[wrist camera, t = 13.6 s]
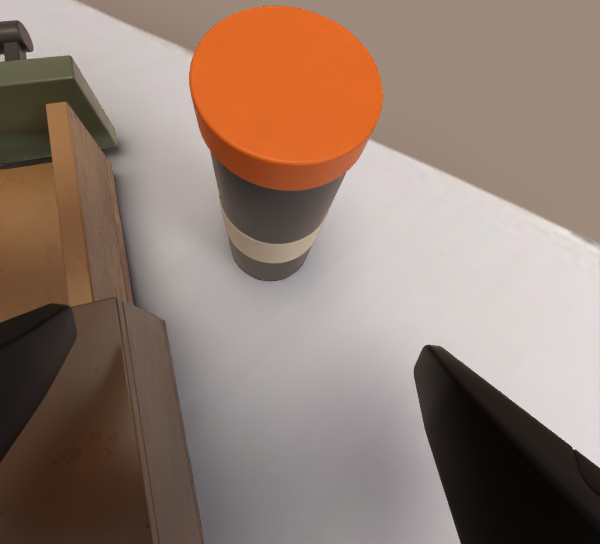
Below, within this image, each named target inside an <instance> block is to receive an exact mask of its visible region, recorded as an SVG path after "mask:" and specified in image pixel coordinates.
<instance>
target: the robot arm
mask: <svg viewBox="0 0 600 544" xmlns="http://www.w3.org/2000/svg"><path fill="white" fill-rule="evenodd" d="M76 338H77V328H76V323H75V318H74V313H73V309H72V308H71V306H69V305H66V304H57V303H50V304H47V305H45V306H42V307H40V308H37V309H34V310H32V311H29V312H27V313H24V314H21V315H19V316H16V317H14V318H11V319H8V320H6V321H3V322H1V323H0V463H1V461H2V460H3V458H4V457H5V455H6V454H7V453H8V451H9V450H10V448H11V447H12V445H13V444H14V442H15V441H16V439H17V438H18V436H19V435H20V433H21V432H22V431H23V429H24V428H25V426H26V425H27V423H28V422H29V420H30V419H31V417H32V416H33V414H34V413H35V411H36V410H37V408H38V407H39V405H40V404H41V402H42V401H43V399H44V398H45V396H46V394H47V393H48V391H49V389H50V388H51V386H52V384H53V382H54V380H55V378H56V376H57V374H58V373H59V371H60V369H61V367H62V365H63V363H64V361H65V360H66V358H67V356H68V354H69V352H70V350H71V348H72V347H73V345H74V343H75V341H76ZM414 378H415V383H416V388H417V393H418V398H419V403H420V408H421V413H422V418H423V422H424V427H425V431H426V434H427V438H428V441H429V444H430V447H431V450H432V453H433V457H434V460H435V463H436V466H437V469H438V472H439V476H440V479H441V482H442V485H443V488H444V492H445V495H446V498H447V501H448V504H449V507H450V511H451V514H452V517H453V520H454V523H455V526H456V530H457V533H458V536H459V539H460V542H461V544H600V468H599V467H598V466H596V465H595V464H594V463H592V462H591V461H590V460H589V459H587V458H586V457H585V456H583V455H582V454H581V453H579V452H578V451H577V450H573V448H572V447H571V446H570V445H569V444H568V443H566V442H565V441H564V440H562V439H561V438H560V437H558V436H557V435H556V434H555V433H553V432H552V431H551V430H549V429H548V428H547V427H545V426H544V425H543V424H542V423H540V422H539V421H538V420H536V419H535V418H534V417H532V416H531V415H530V414H528V413H527V412H526V411H525V410H523V409H522V408H521V407H519V406H518V405H517V404H515V403H514V402H513V401H512V400H510V399H509V398H508V397H506V396H505V395H504V394H502V393H501V392H500V391H498V390H497V389H496V388H495V387H493V386H492V385H491V384H489V383H488V382H487V381H485V380H484V379H483V378H482V377H480V376H479V375H478V374H476V373H475V372H474V371H472V370H471V369H470V368H468V367H467V366H466V365H465V364H463V363H462V362H461V361H459V360H458V359H457V358H455V357H454V356H453V355H452V354H450V353H449V352H448V351H446V350H445V349H444V348H442V347H440V346H434V345H425V346H424V347H423V349H422V351H421V353H420V355H419V358H418V360H417V362H416V365H415V367H414Z"/></svg>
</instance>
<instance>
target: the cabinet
mask: <svg viewBox="0 0 600 544" xmlns="http://www.w3.org/2000/svg"><path fill="white" fill-rule="evenodd" d="M71 308H72V309H73V313H74V318H75V323H76V328H77V338H76V341H75V343H74V345H73V347H72V348H71V350H70V352H69V354H68V356H67V358H66V360H65V361H64V363H63V365H62V367H61V369H60V371H59V373H58V374H57V376H56V378H55V380H54V382H53V384H52V386H51V388H50V389H49V391H48V393H47V394H46V396H45V398H44V399H43V401H42V402H41V404H40V405H39V407H38V408H37V410H36V411H35V413H34V414H33V416H32V417H31V419H30V420H29V422H28V423H27V425H26V426H25V428H24V429H23V431H22V432H21V433H20V435H19V436H18V438H17V439H16V441H15V442H14V444H13V445H12V447H11V448H10V450H9V451H8V453H7V454H6V455H5V457H4V458H3V460H2V461H1V463H0V544H205V543H204V538H203V532H202V527H201V521H200V515H199V510H198V504H197V499H196V493H195V488H194V482H193V476H192V471H191V465H190V460H189V454H188V449H187V443H186V437H185V432H184V426H183V421H182V415H181V410H180V404H179V398H178V393H177V387H176V382H175V376H174V371H173V365H172V359H171V354H170V348H169V343H168V337H167V332H166V326H165V321H164V320H162V319H160V318H158V317H156V316H154V315H152V314H150V313H148V312H146V311H144V310H142V309H140V308H138V307H136V306H134V305H132V304H130V303H127V302H125V301H123V300H121V299H119V298H117V297H112V298H108V299H103V300H99V301H94V302H90V303H86V304H81V305H77V306H72V307H71Z"/></svg>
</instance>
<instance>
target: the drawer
mask: <svg viewBox="0 0 600 544" xmlns="http://www.w3.org/2000/svg"><path fill="white" fill-rule="evenodd" d="M32 51H33V43H32V40H31V38H30V36H29V33H28V32H27V30H26V28H25V27H24V25H23V24H22V23H21V22H20V21H17V20H16V21H2V22H0V55H3V54H5V62H0V164H1V163H8V162H15V161H22V160H29V159H36V158H43V157H49V156H52V162H50V163H44V164H37V165H30V166H24V167H17V168H10V169H3V170H0V323H1V322H3V321H6V320H8V319H11V318H14V317H16V316H19V315H21V314H24V313H27V312H29V311H32V310H34V309H37V308H40V307H42V306H45V305H47V304H50V303H57V304H66V305H69V306H71V307H72V306H77V305H81V304H86V303H90V302H94V301H99V300H103V299H108V298H112V297H117V298H119V299H121V300H123V301H125V302H127V303H130V304H132V305H134V302H133V296H132V290H131V284H130V277H129V271H128V265H127V259H126V252H125V246H124V240H123V234H122V227H121V221H120V215H119V209H118V202H117V196H116V190H115V184H114V177H113V171H112V165H111V162H110V161H109V160H108V158H107V157H106V155H104V153H103V152H102V150H101V149H105V148H111V147H117V141H116V135H115V129H114V127H113V125H112V124H111V122H110V120H109V118H108V117H107V115H106V113H105V112H104V110H103V108H102V107H101V105H100V103H99V102H98V100H97V98H96V97H95V95H94V93H93V92H92V90H91V88H90V87H89V85H88V83H87V82H86V80H85V78H84V77H83V75H82V73H81V72H80V70H79V68H78V67H77V65H76V63H75V62H74V60H73V58H72V57H71V56H58V57H47V58H37V59H26V53H25V52H32Z"/></svg>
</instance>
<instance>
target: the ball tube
mask: <svg viewBox="0 0 600 544" xmlns="http://www.w3.org/2000/svg"><path fill="white" fill-rule="evenodd" d="M189 85H190V91H191V96H192V100H193V104H194V109H195V113H196V117H197V121H198V125H199V129H200V132H201V134H202V137H203V139H204V141H205V143H206V145H207V147H208V148H209V149H210V152H211V157H212V162H213V166H214V171H215V176H216V181H217V185H218V190H219V198H220V203H221V208H222V213H223V217H224V222H225V227H226V230H227V233H228V237H229V242H230V247H231V251H232V255H233V257H234V259H235V261H236V263H237V264H238V266H239V267H240V268H241V269H242V270H243V271H244V272H245V273H247V274H248V275H250V276H252V277H254V278H257V279H260V280H265V281H276V280H281V279H284V278H286V277H288V276H290V275H292V274H293V273H295V272H296V271H297V270H298V269H299V268H300V267H301V266H302V264H303V263H304V261H305V259H306V257H307V255H308V252H309V250H310V248H311V246H312V244H313V243H314V241H315V239H316V237H317V235H318V233H319V231H320V229H321V227H322V225H323V222H324V220H325V218H326V216H327V214H328V211H329V208H330V206H331V204H332V202H333V199H334V197H335V195H336V193H337V191H338V189H339V187H340V185H341V183H342V180H343V178H344V176H345V174H346V172H347V171H348V170H349V169H350V168H351V167H352V166H353V165H354V164H355V162H356V161H357V160H358V158H359V157H360V155H361V154H362V152H363V150H364V148H365V146H366V144H367V142H368V140H369V138H370V136H371V134H372V132H373V130H374V128H375V126H376V123H377V121H378V119H379V116H380V112H381V109H382V101H383V100H382V99H383V94H382V83H381V78H380V74H379V72H378V69H377V66H376V64H375V62H374V60H373V58H372V57H371V55H370V54H369V52H368V51H367V49H366V48H365V47H364V46H363V44H362V43H361V42H360V41H359V40H358V39H357V38H356V37H355V36H354V35H353V34H352V33H350V32H349V31H348V30H346V29H345V28H344V27H342V26H341V25H339V24H338V23H336V22H334V21H333V20H331V19H328V18H326V17H324V16H322V15H320V14H317V13H314V12H311V11H308V10H304V9H300V8H294V7H287V6H263V7H257V8H251V9H247V10H243V11H241V12H238V13H235V14H233V15H231V16H229V17H227V18H225V19H223V20H222V21H220V22H219V23H218V24H216V25H215V26H213V27H212V29H210V30H209V31H208V32H207V33H206V34H205V36H204V37H203V38H202V40H201V41H200V42H199V44H198V46H197V48H196V50H195V52H194V55H193V58H192V61H191V66H190V72H189Z"/></svg>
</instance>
